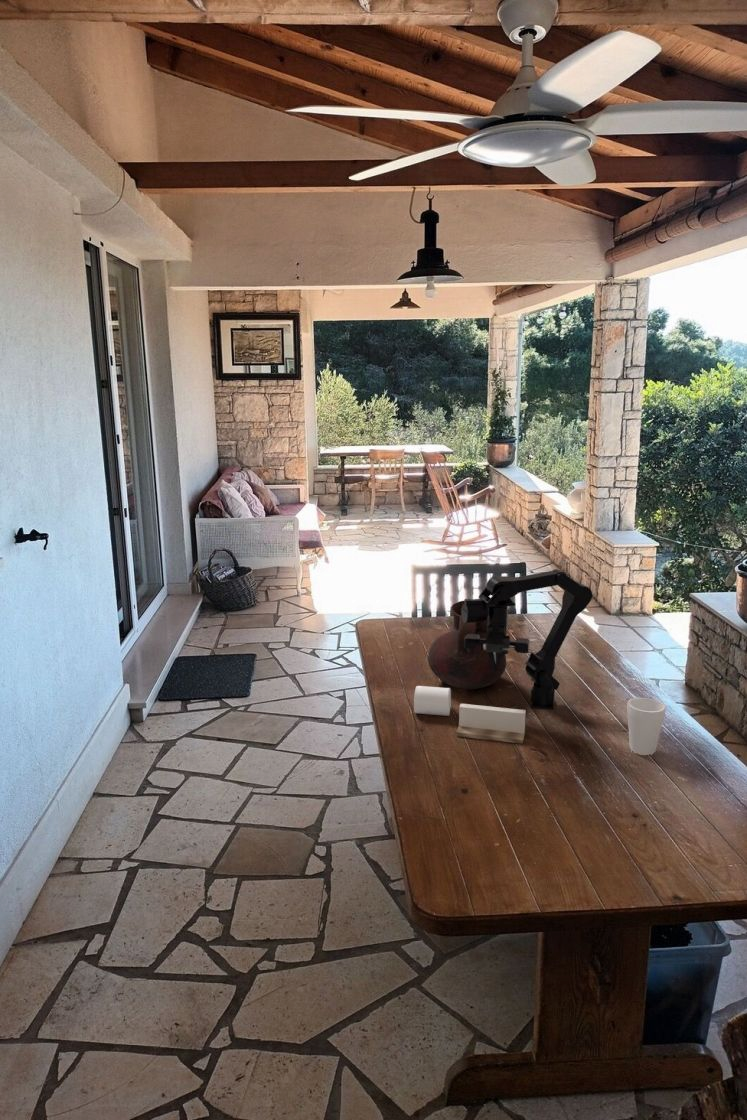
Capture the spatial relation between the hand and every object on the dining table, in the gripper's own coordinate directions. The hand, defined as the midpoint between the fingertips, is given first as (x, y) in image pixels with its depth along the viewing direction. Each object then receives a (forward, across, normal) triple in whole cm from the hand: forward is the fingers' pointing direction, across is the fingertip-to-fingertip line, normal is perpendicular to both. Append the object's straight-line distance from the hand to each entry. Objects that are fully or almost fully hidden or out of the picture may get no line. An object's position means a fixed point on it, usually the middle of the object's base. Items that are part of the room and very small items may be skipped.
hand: (495, 670), depth 230 cm
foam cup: (+12, +41, -17) cm, 46 cm away
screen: (+12, +1, -18) cm, 22 cm away
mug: (+12, -17, -6) cm, 22 cm away
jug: (+12, -11, +18) cm, 24 cm away
